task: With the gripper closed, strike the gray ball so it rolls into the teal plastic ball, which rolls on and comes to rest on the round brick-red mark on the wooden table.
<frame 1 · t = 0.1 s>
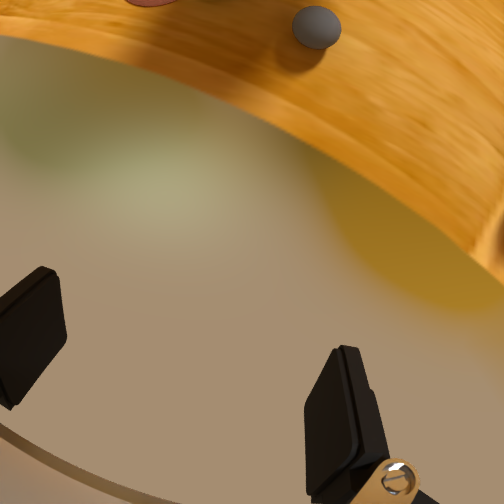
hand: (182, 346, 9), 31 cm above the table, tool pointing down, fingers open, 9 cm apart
gray ball: (316, 27, 28), on the table
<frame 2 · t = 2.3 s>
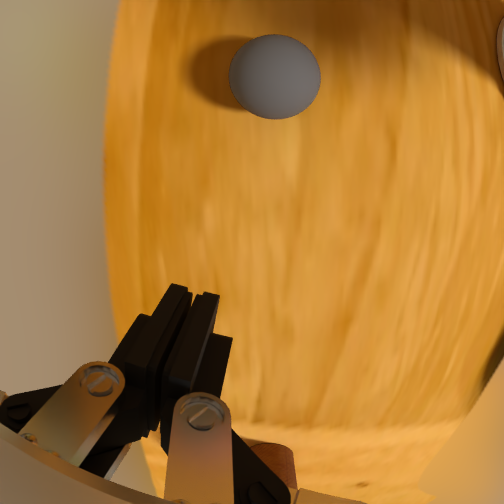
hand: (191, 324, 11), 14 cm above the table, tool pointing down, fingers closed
gray ball: (274, 76, 17), on the table
disposable coffee cup: (270, 452, 36), on the table
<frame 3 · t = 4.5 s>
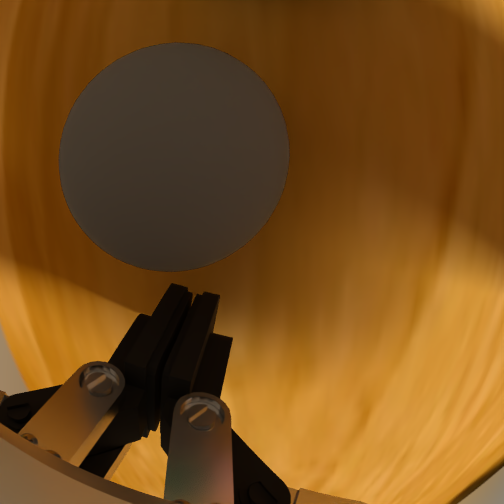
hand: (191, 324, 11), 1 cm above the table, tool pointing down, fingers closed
gray ball: (172, 155, 7), on the table
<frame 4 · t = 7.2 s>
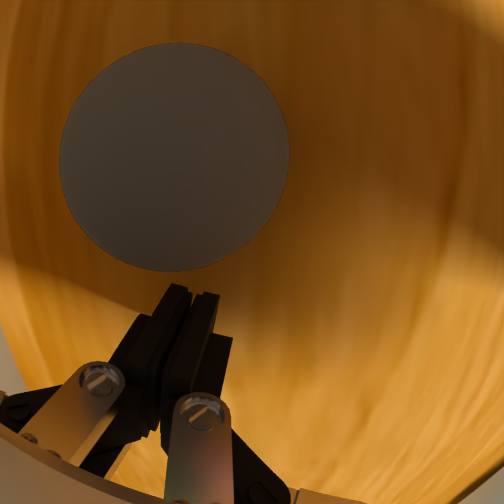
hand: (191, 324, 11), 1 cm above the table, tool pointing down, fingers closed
gray ball: (173, 155, 7), on the table
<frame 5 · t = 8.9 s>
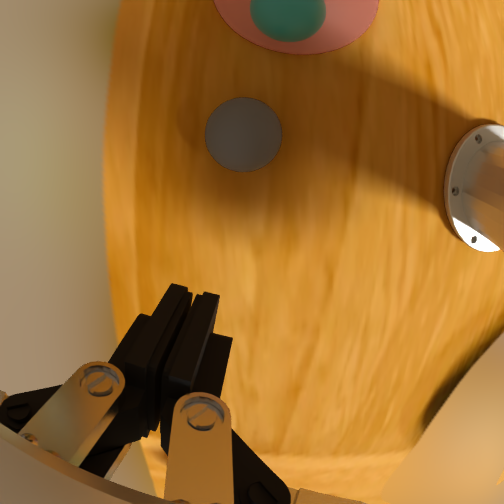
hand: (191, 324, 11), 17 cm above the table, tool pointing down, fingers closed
object ball: (288, 9, 17), on the table
gray ball: (243, 134, 21), on the table
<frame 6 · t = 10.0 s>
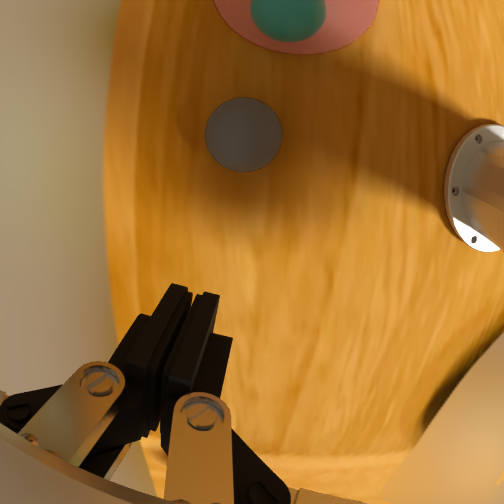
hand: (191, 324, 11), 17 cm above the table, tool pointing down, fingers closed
object ball: (288, 9, 17), on the table
gray ball: (243, 134, 21), on the table
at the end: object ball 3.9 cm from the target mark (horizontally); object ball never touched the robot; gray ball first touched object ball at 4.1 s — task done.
